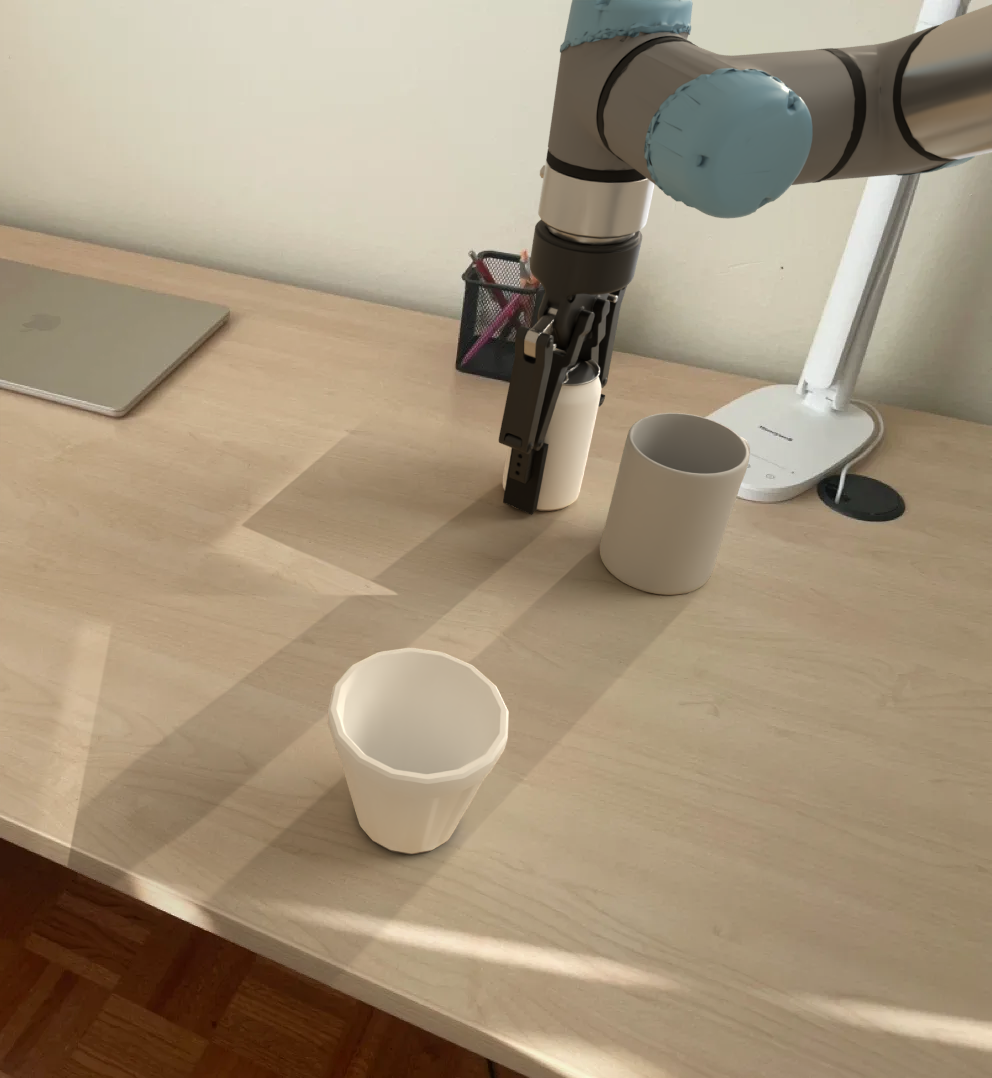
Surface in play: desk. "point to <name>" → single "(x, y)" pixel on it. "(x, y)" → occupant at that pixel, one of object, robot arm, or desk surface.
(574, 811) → the desk surface
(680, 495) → the mug
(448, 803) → the cup
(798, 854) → the desk surface
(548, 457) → the can
